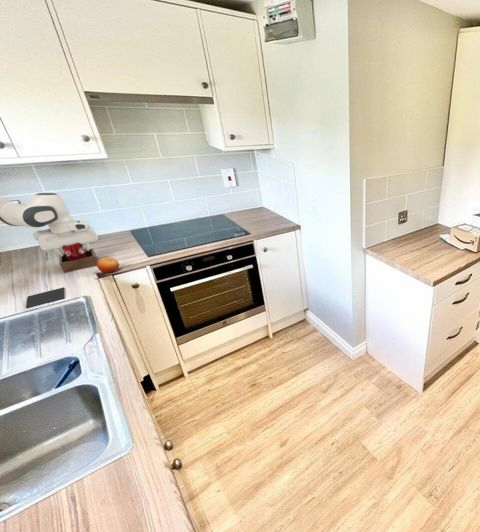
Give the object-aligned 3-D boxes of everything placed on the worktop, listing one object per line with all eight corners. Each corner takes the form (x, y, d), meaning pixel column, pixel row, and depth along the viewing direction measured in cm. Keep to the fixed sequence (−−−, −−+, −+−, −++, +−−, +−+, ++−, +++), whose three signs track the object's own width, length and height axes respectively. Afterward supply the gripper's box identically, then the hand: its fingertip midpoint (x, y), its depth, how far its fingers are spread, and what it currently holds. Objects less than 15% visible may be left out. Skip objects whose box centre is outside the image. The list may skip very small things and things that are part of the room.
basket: (64, 273, 152) (59, 263, 150) (64, 264, 160) (59, 254, 158) (99, 265, 160) (94, 256, 157) (97, 256, 168) (92, 248, 165)
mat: (26, 308, 126) (25, 307, 126) (28, 297, 133) (27, 296, 133) (64, 298, 133) (64, 297, 133) (64, 288, 140) (63, 287, 140)
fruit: (97, 266, 155) (102, 252, 153) (118, 271, 159) (123, 258, 158) (91, 274, 148) (96, 259, 147) (112, 279, 153) (117, 265, 151)
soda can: (71, 269, 155) (59, 246, 150) (71, 264, 160) (60, 241, 155) (91, 265, 160) (80, 242, 154) (90, 260, 164) (80, 238, 159)
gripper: (30, 233, 142) (46, 261, 148) (91, 223, 155) (103, 249, 161) (31, 230, 146) (46, 257, 153) (90, 220, 159) (102, 246, 165)
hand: (76, 253), depth 157 cm, fingers closed on soda can, 7 cm apart
